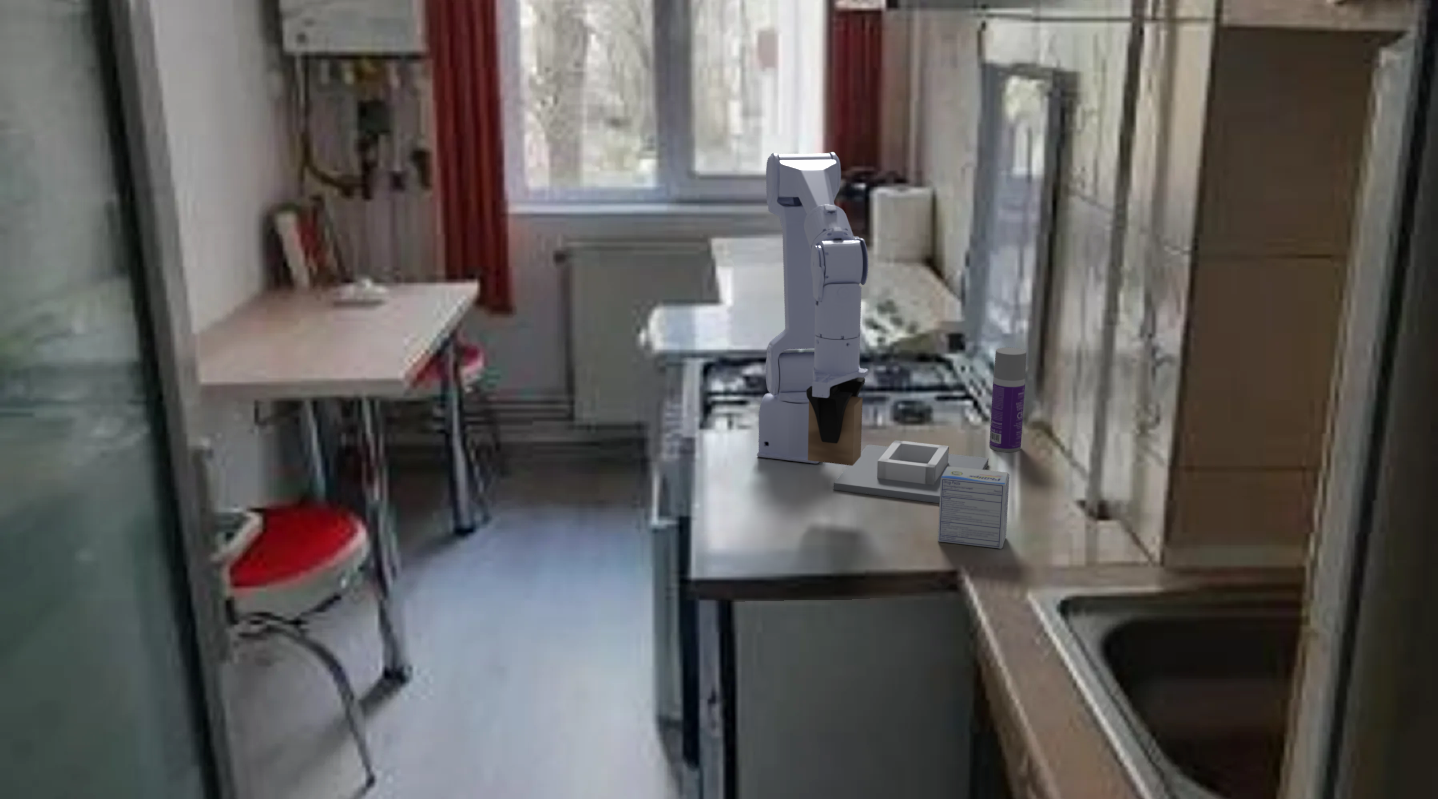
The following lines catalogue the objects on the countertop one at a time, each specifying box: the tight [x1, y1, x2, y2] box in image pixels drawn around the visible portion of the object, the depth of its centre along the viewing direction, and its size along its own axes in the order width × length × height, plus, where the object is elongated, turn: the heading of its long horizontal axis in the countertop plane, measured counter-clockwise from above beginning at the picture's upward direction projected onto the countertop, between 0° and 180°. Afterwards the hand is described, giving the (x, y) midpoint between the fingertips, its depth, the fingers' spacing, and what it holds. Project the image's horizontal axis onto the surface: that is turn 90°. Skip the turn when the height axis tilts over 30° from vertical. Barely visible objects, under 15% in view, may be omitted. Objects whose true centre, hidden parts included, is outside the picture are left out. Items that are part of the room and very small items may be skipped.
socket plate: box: [833, 439, 989, 504], centre depth 179 cm, size 18×18×4 cm
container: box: [988, 346, 1027, 453], centre depth 190 cm, size 5×5×15 cm
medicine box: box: [937, 467, 1011, 550], centre depth 156 cm, size 8×4×9 cm, turn 71°
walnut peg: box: [808, 396, 863, 466], centre depth 164 cm, size 6×4×8 cm, turn 69°
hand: (834, 436), depth 165 cm, fingers closed on walnut peg, 4 cm apart
